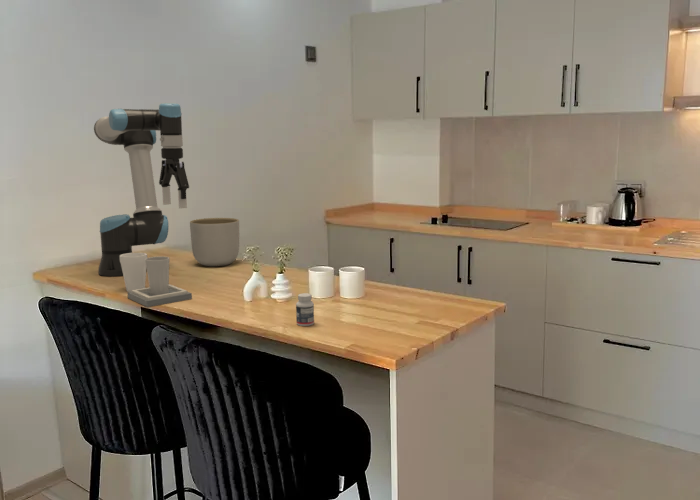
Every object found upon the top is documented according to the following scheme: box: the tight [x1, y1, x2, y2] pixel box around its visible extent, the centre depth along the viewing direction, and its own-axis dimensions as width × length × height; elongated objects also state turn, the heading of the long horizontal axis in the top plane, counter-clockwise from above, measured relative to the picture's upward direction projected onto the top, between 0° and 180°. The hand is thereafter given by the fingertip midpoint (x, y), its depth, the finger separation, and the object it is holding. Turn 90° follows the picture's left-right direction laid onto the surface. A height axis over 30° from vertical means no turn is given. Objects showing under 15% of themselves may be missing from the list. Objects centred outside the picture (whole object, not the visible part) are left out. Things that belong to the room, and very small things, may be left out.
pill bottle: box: [295, 292, 315, 327], centre depth 192 cm, size 5×5×9 cm
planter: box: [189, 217, 240, 267], centre depth 282 cm, size 21×21×19 cm
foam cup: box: [120, 252, 148, 293], centre depth 236 cm, size 10×9×13 cm
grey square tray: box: [127, 283, 193, 308], centre depth 224 cm, size 16×16×3 cm
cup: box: [145, 255, 170, 295], centre depth 223 cm, size 8×8×12 cm
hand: (174, 206), depth 238 cm, fingers open, 13 cm apart
